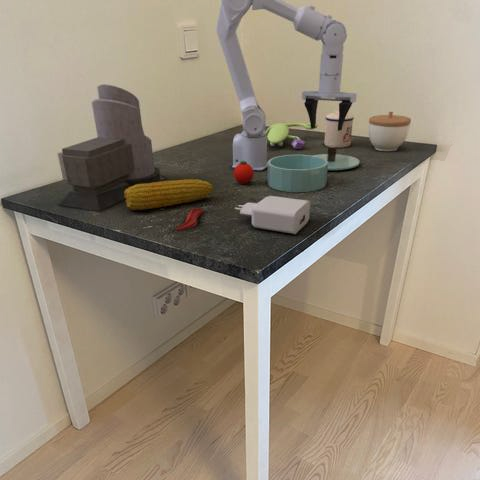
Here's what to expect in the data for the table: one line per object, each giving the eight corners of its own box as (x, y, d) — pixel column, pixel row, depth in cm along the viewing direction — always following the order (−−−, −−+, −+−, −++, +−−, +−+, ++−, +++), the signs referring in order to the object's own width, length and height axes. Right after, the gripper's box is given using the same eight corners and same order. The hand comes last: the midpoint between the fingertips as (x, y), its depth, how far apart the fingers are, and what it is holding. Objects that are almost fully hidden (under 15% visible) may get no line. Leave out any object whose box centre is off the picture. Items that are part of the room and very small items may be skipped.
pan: (258, 188, 122) (258, 166, 119) (280, 172, 134) (280, 152, 131) (315, 195, 117) (317, 172, 114) (333, 178, 128) (335, 157, 125)
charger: (246, 211, 108) (309, 220, 102) (227, 225, 101) (293, 236, 95) (246, 190, 106) (310, 199, 100) (226, 203, 99) (294, 213, 93)
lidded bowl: (411, 146, 156) (417, 110, 150) (399, 155, 147) (405, 116, 142) (373, 142, 162) (377, 107, 156) (360, 150, 153) (364, 113, 147)
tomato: (230, 184, 125) (229, 163, 122) (239, 179, 129) (238, 158, 126) (248, 187, 123) (248, 165, 120) (256, 181, 127) (256, 160, 124)
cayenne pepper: (184, 231, 99) (183, 223, 98) (166, 228, 101) (165, 219, 100) (215, 213, 107) (215, 205, 106) (198, 210, 109) (198, 202, 108)
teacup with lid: (347, 149, 155) (351, 110, 149) (320, 147, 158) (322, 109, 152) (355, 141, 165) (359, 104, 158) (329, 139, 168) (332, 103, 161)
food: (131, 216, 107) (127, 190, 104) (124, 209, 111) (120, 183, 108) (216, 200, 115) (215, 175, 112) (207, 194, 119) (205, 169, 116)
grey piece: (126, 171, 138) (112, 77, 125) (174, 177, 132) (165, 78, 119) (53, 204, 115) (26, 92, 102) (107, 212, 109) (86, 95, 96)
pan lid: (295, 168, 137) (296, 150, 134) (313, 155, 149) (314, 138, 146) (351, 174, 131) (353, 155, 128) (365, 160, 143) (367, 142, 140)
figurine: (319, 136, 172) (321, 119, 169) (300, 153, 151) (301, 135, 148) (271, 133, 178) (271, 117, 175) (245, 150, 157) (245, 132, 154)
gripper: (299, 75, 126) (296, 129, 133) (354, 76, 120) (348, 133, 128) (307, 72, 131) (304, 125, 138) (360, 74, 126) (354, 128, 133)
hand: (326, 129), depth 133 cm, fingers open, 7 cm apart
